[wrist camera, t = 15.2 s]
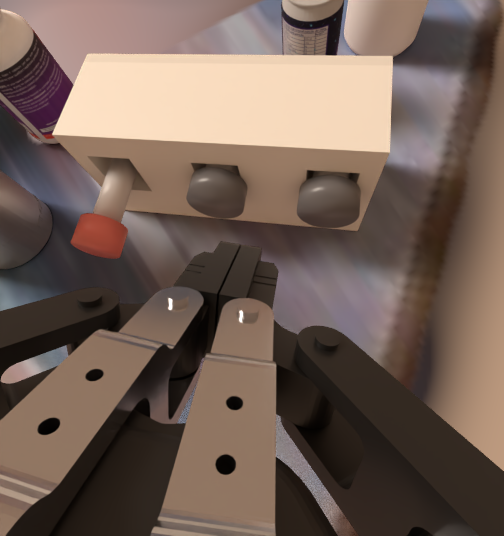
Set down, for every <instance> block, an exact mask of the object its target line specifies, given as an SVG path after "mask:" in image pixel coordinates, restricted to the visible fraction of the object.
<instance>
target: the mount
mask: <svg viewBox="0 0 504 536" xmlns="http://www.w3.org/2000/svg"><path fill="white" fill-rule="evenodd" d="M392 67H393V56H327V55H190V54H87V56H86V59H85V61H84V63H83V65H82V68H81V70H80V72H79V74H78V77H77V79H76V81H75V83H74V86H73V88H72V90H71V93H70V95H69V97H68V99H67V102H66V104H65V106H64V108H63V111H62V113H61V115H60V118H59V120H58V122H57V124H56V127H55V129H54V131H53V133H52V135H53V136H54V137H55V138H56V139H57V141H58V142H59V143H60V144H61V145H62V146H63V147H64V148H65V149H66V150H67V151H68V152H69V153H70V154H71V155H72V156H73V157H74V158H75V160H76V161H77V162H78V163H79V164H80V165H81V166H82V167H83V168H84V169H85V170H86V171H87V172H88V173H89V174H90V175H91V176H92V177H93V178H94V180H95V181H96V182H97V183H98V184H99V185H100V186H101V187H102V186H103V183H104V180H105V177H106V174H107V172H108V169H109V166H110V163H111V160H112V158H125V159H130V161H131V162H132V164H133V165H134V166H135V168H136V169H137V174H136V177H135V181H134V184H133V187H132V190H131V193H130V196H129V199H128V202H127V205H126V208H125V210H131V211H142V212H153V213H164V214H175V215H186V216H197V217H208V218H215V217H211V216H207V215H205V214H202V213H200V212H198V211H196V210H195V209H194V208H192V207H191V206H190V205H189V203H188V202H187V199H186V196H187V192H188V188H189V184H190V180H191V177H192V174H193V172H194V171H196V170H197V169H200V168H203V167H206V165H207V164H219V165H235V166H238V169H239V176H240V177H241V178H242V179H243V180H244V181H245V183H246V184H247V188H248V189H247V195H246V200H245V206H244V211H243V213H242V214H241V215H240V216H238V217H235V218H229V219H230V220H241V221H252V222H263V223H274V224H285V225H296V226H307V227H316V226H313V225H310V224H307V223H305V222H304V221H302V220H301V219H300V218H299V217H298V215H297V204H298V197H299V189H300V186H301V185H302V184H303V183H304V182H305V181H306V180H308V179H310V178H312V177H313V173H314V171H330V172H346V173H350V174H349V179H351V180H353V181H354V182H356V183H357V184H358V186H359V187H360V190H361V198H360V214H359V218H358V219H357V220H356V221H355V222H354V223H352V224H350V225H347V226H344V227H339V228H329V229H340V230H351V231H358V229H359V226H360V224H361V222H362V219H363V217H364V214H365V212H366V209H367V207H368V204H369V202H370V200H371V197H372V195H373V192H374V190H375V187H376V185H377V182H378V180H379V178H380V175H381V173H382V170H383V168H384V165H385V163H386V160H387V158H388V156H389V153H390V129H391V98H392ZM219 219H222V218H219ZM318 228H322V227H318Z"/></svg>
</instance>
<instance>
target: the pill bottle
mask: <svg viewBox="0 0 504 536" xmlns="http://www.w3.org/2000/svg"><path fill="white" fill-rule="evenodd" d="M73 86H74V85H73V84H72V82H71V81H70V79H69V78H68V77H67V75H66V74H65V73H64V71H63V70H62V69H61V67H60V66H59V64H58V63H57V62H56V60H55V59H54V58H53V56H52V55H51V54H50V52H49V51H48V50H47V49H46V47H45V46H44V44H43V43H42V42H41V40H40V39H39V37H38V36H37V35H36V33H35V32H34V31H33V29H32V28H31V27H30V25H29V24H28V23H27V22H26V20H25V19H23V18H22V17H21V16H19V15H18V14H16V13H14V12H11V11H7V10H1V8H0V105H1V106H2V107H3V108H4V109H5V110H6V111H7V112H8V113H9V114H11V115H12V116H13V117H14V118H15V119H16V120H17V121H18V122H19V123H20V124H21V125H22V126H23V127H24V128H25V129H26V130H27V131H28V132H29V133H30V134H31V135H32V136H33V137H35V138H36V139H37V140H39V141H41V142H44V143H50V144H55V143H59V142H58V141H57V139H56V138H55V137H54V136H53V135H52V133H53V131H54V129H55V127H56V124H57V122H58V120H59V118H60V115H61V113H62V111H63V108H64V106H65V104H66V102H67V99H68V97H69V95H70V93H71V90H72V88H73Z"/></svg>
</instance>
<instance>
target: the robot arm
mask: <svg viewBox="0 0 504 536" xmlns="http://www.w3.org/2000/svg"><path fill="white" fill-rule="evenodd" d="M52 225H53V223H52V215H51V212H50V210H49V208H48V207H47V205H45V204H44V203H43V202H42V201H41V200H39V199H38V198H37V197H36V196H34V195H33V194H31V193H30V192H29V191H27V190H26V189H25V188H23V187H22V186H21V185H19V184H18V183H17V182H15V181H14V180H13V179H11V178H10V177H9V176H7V175H6V174H5V173H3V172H2V171H1V170H0V269H10V268H15V267H17V266H20V265H23V264H24V263H26V262H28V261H29V260H31V259H32V258H33V257H34V256H36V255H37V254H38V253H39V252H40V251H41V249H42V248H43V247H44V245H45V244H46V242H47V241H48V239H49V236H50V234H51V230H52ZM261 252H262V248H259V247H253V246H246V245H240V244H234V243H228V242H222V241H221V242H220V243H219V245H218V246H217V248H216V250H215V251H214V253H209V252H203V253H201V254H199V255H197V256H195V257H194V258H193V260H192V261H191V262H190V264H189V265H188V266H187V268H186V269H185V271H184V272H183V273H182V275H181V276H180V277H179V279H178V280H177V282H176V283H175V284H174V286H173V287H169V288H165V289H162V290H160V291H158V292H157V293H155V294H154V295H153V296H152V297H151V298H150V299H149V300H148V302H147V303H143V304H120V303H119V296H118V294H117V293H116V292H114V291H112V290H110V289H107V288H100V287H92V288H84V289H80V290H76V291H73V292H69V293H65V294H62V295H58V296H55V297H51V298H47V299H44V300H40V301H36V302H33V303H29V304H25V305H22V306H18V307H14V308H11V309H7V310H3V311H0V380H1V376H2V374H3V373H4V372H5V370H7V369H8V368H9V367H10V366H12V365H14V364H16V363H19V362H21V361H24V360H27V359H29V358H32V357H35V356H38V355H40V354H43V353H46V352H49V351H51V350H54V349H57V348H59V347H62V346H65V345H67V351H68V357H67V358H66V359H65V360H64V361H63V362H62V363H61V364H60V365H59V366H56V367H54V368H51V369H49V370H46V371H44V372H41V373H39V374H36V375H34V376H31V377H29V378H26V379H24V380H21V381H19V382H16V383H12V384H6V383H2V382H1V381H0V536H338V535H337V534H336V532H335V531H334V529H333V527H332V526H331V524H330V522H329V521H328V519H327V517H326V516H325V514H324V513H323V511H322V509H321V508H320V506H319V504H318V503H317V501H316V499H315V498H314V496H313V495H312V493H311V492H310V490H309V489H308V488H307V486H306V485H305V484H304V483H303V481H302V480H301V479H300V478H299V477H298V476H297V475H296V474H295V473H294V471H293V470H292V469H291V468H290V467H288V466H287V465H286V464H285V463H283V462H282V461H281V460H280V459H278V458H277V457H276V414H277V415H279V416H281V422H282V425H283V427H284V429H285V430H286V432H287V433H288V434H289V436H290V437H291V439H292V440H293V442H294V443H295V445H296V446H297V447H298V449H299V450H300V452H301V453H302V455H303V456H304V457H305V459H306V460H307V462H308V463H309V465H310V466H311V468H312V469H313V470H314V472H315V473H316V475H317V476H318V478H319V479H320V480H321V482H322V483H323V485H324V486H325V488H326V489H327V491H328V492H329V493H330V495H331V496H332V498H333V499H334V501H335V502H336V503H337V505H338V506H339V508H340V509H341V511H342V512H343V514H344V515H345V516H346V518H347V519H348V521H349V522H350V524H351V525H352V526H353V528H354V529H355V531H356V532H357V534H358V535H359V536H504V471H503V470H501V469H500V468H499V467H498V466H497V465H495V464H494V463H493V462H492V461H491V460H490V459H489V458H487V457H486V456H485V455H484V454H483V453H482V452H480V451H479V450H478V449H477V448H476V447H474V446H473V445H472V444H471V443H470V442H469V441H467V440H466V439H465V438H464V437H463V436H462V435H461V434H459V433H458V432H457V431H456V430H455V429H454V428H452V427H451V426H450V425H449V424H448V423H447V422H446V421H444V420H443V419H442V418H441V417H440V416H438V415H437V414H436V413H435V412H434V411H433V410H432V409H430V408H429V407H428V406H427V405H426V404H424V403H423V402H422V401H421V400H420V399H419V398H418V397H416V396H415V395H414V394H413V393H412V392H411V391H409V390H408V389H407V388H406V387H405V386H404V385H402V384H401V383H400V382H399V381H398V380H397V379H395V378H394V377H393V376H392V375H391V374H390V373H388V372H387V371H386V370H385V369H384V368H383V367H381V366H380V365H379V364H378V363H377V362H376V361H374V360H373V359H372V358H371V357H370V356H369V355H367V354H366V353H365V352H364V351H363V350H362V349H360V348H359V347H358V346H357V345H356V344H355V343H353V342H352V341H351V340H350V339H349V338H348V337H346V336H345V335H344V334H342V333H341V332H339V331H337V330H335V329H332V328H329V327H324V326H311V327H307V328H305V329H303V330H302V331H301V332H300V333H299V335H297V334H295V333H293V332H290V331H288V330H286V329H284V328H283V327H281V326H280V325H279V324H278V323H277V322H276V321H275V320H274V314H273V311H272V307H273V301H274V295H275V289H276V283H277V277H278V269H277V268H276V266H275V265H274V263H269V262H263V261H260V260H261ZM202 358H205V359H204V362H203V366H202V369H201V373H200V362H201V360H202ZM198 379H199V380H198ZM197 382H198V383H197ZM196 384H197V387H196V390H195V394H194V397H193V401H192V404H191V408H190V411H189V415H188V418H187V422H186V423H182V424H177V422H178V420H179V418H180V416H181V414H182V412H183V410H184V408H185V406H186V404H187V402H188V400H189V398H190V396H191V394H192V392H193V390H194V388H195V386H196Z"/></svg>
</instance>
